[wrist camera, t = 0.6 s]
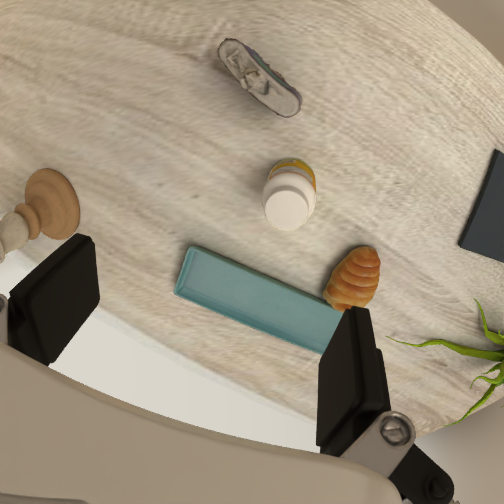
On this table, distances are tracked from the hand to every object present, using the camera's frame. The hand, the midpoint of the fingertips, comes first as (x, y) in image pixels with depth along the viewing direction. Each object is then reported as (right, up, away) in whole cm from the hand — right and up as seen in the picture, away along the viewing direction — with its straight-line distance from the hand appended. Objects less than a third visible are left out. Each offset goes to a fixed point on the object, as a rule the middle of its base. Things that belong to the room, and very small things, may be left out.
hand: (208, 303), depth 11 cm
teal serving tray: (+4, -5, +35) cm, 36 cm away
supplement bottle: (+6, +10, +26) cm, 29 cm away
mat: (+37, +7, +22) cm, 44 cm away
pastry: (+15, -1, +31) cm, 35 cm away
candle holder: (-31, +10, +34) cm, 46 cm away
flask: (+3, +21, +20) cm, 29 cm away
